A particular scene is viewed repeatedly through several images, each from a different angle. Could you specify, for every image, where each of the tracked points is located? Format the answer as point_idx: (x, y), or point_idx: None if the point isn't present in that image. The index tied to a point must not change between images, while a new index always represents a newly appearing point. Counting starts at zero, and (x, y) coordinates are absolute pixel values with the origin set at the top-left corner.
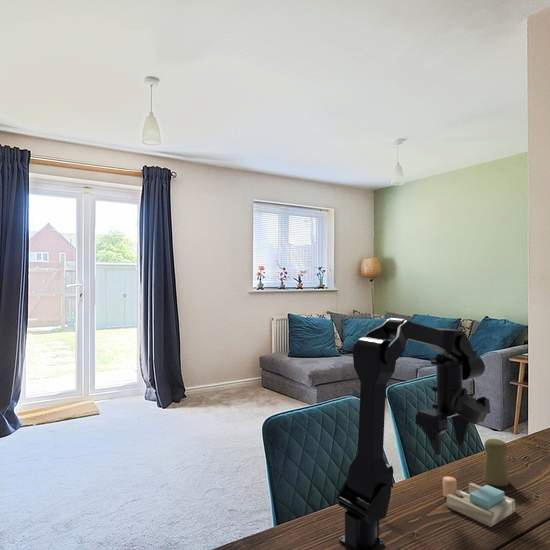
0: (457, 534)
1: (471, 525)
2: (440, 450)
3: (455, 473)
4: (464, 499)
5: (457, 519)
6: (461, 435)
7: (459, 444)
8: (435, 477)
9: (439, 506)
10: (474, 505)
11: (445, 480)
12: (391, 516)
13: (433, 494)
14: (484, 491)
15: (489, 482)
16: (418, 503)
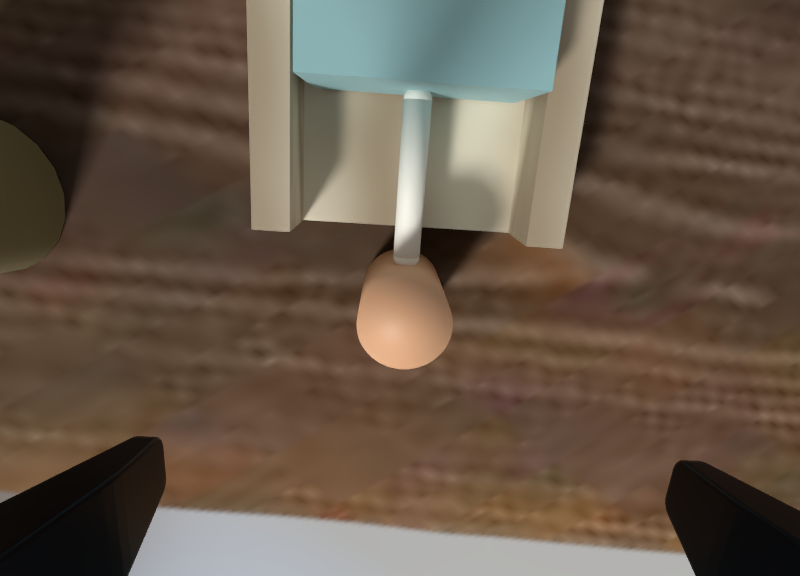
0: (729, 63)
1: None
2: (738, 493)
3: (79, 418)
4: (380, 207)
5: None
6: (58, 569)
7: (158, 475)
8: (225, 458)
9: (513, 280)
10: (571, 41)
11: (443, 335)
12: (772, 377)
13: None
14: (426, 22)
15: (36, 206)
16: (563, 365)
